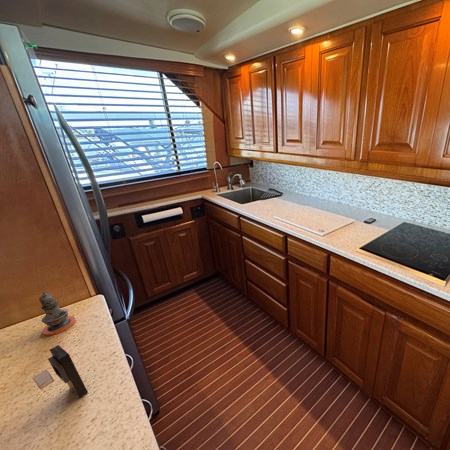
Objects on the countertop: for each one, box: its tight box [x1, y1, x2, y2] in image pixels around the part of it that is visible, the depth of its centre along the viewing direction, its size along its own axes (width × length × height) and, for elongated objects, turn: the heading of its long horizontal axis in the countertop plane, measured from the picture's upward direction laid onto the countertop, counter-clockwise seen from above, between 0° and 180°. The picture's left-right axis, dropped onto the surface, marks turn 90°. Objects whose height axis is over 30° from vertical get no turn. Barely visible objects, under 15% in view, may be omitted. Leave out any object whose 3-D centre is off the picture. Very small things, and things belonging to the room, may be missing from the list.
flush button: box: [32, 369, 55, 391], centre depth 49 cm, size 2×3×3 cm, turn 62°
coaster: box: [41, 315, 78, 337], centre depth 73 cm, size 8×8×1 cm
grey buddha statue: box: [38, 291, 71, 331], centre depth 71 cm, size 6×6×12 cm
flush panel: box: [47, 344, 89, 399], centre depth 52 cm, size 2×5×12 cm, turn 62°
